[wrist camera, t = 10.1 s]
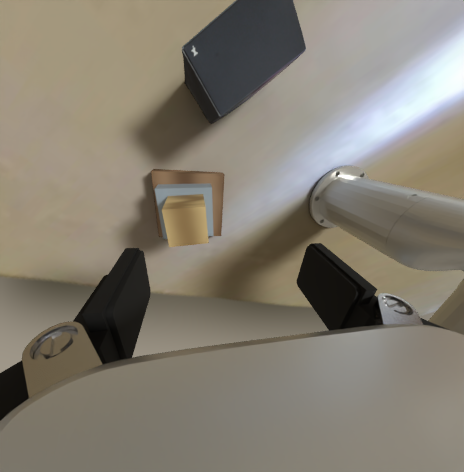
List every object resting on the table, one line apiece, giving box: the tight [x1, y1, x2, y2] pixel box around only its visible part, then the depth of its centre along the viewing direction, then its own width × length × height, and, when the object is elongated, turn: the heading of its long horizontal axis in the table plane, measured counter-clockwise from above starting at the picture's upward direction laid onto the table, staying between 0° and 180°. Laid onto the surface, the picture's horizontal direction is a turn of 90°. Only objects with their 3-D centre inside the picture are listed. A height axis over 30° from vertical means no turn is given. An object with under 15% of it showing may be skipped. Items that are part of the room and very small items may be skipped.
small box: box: [182, 0, 306, 124], centre depth 21 cm, size 11×6×10 cm, turn 124°
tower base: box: [151, 169, 224, 237], centre depth 32 cm, size 11×11×3 cm
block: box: [162, 194, 209, 247], centre depth 25 cm, size 5×5×6 cm
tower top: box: [155, 183, 214, 239], centre depth 29 cm, size 8×8×3 cm
